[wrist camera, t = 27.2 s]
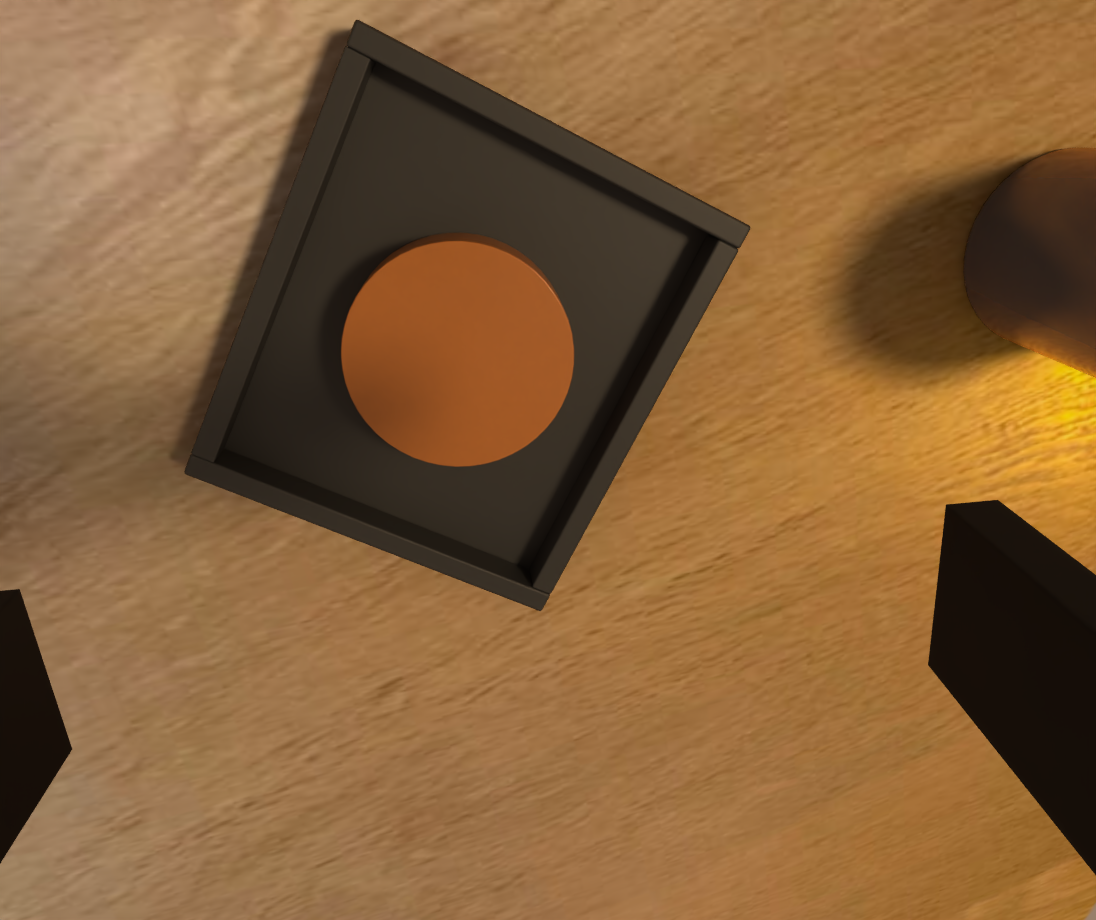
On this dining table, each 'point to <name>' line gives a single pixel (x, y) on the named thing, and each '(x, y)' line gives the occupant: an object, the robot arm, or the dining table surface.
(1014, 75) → the dining table surface
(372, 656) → the dining table surface
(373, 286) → the lid
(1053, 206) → the jar
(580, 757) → the dining table surface
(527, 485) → the tray
